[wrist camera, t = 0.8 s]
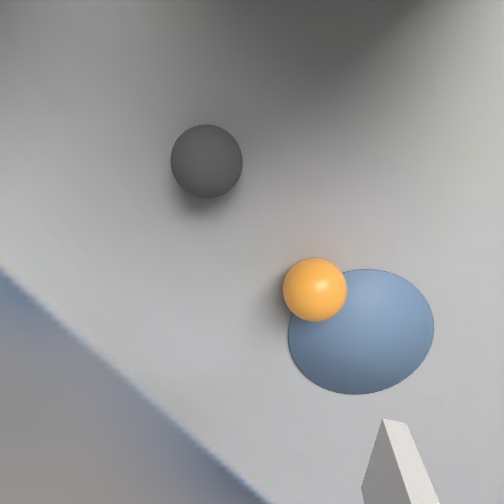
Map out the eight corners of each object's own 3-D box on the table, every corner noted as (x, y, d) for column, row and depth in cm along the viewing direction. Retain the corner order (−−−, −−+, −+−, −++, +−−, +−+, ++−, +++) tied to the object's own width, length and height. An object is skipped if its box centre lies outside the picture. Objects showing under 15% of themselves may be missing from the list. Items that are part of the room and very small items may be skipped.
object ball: (291, 242, 36) (295, 265, 31) (349, 257, 37) (363, 283, 32) (274, 294, 38) (276, 325, 33) (329, 308, 39) (339, 341, 34)
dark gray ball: (185, 114, 33) (171, 117, 28) (251, 132, 33) (249, 139, 28) (172, 180, 35) (157, 194, 30) (235, 196, 35) (230, 213, 30)
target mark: (313, 252, 37) (314, 253, 37) (457, 290, 38) (458, 291, 37) (271, 375, 42) (271, 376, 41) (399, 406, 43) (400, 407, 42)
